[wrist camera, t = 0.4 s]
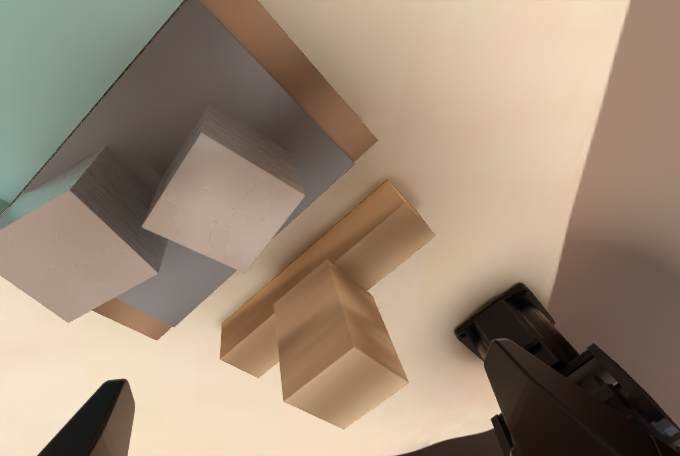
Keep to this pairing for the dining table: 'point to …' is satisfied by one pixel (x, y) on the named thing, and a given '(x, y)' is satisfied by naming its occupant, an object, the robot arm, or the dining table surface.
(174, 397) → the dining table surface
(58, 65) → the tray
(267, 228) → the pale grey cube
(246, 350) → the tan inverted t block
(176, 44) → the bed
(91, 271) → the grey cubic block
